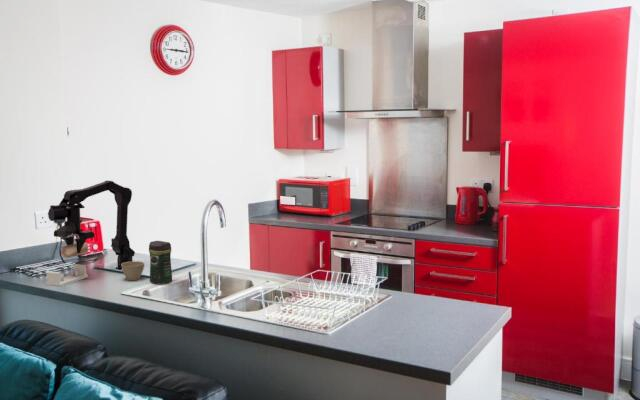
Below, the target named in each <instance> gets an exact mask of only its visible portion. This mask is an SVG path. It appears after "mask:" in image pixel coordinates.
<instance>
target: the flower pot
mask: <svg viewBox="0 0 640 400" xmlns="http://www.w3.org/2000/svg"><path fill="white" fill-rule="evenodd" d="M121 267H122V269H121V271H122V273H123V275H124V277H125V278H126V280H128V281H137V280H139V279H140V278H141V277H142V276H141V275H142V274H143V272H144V268H145V262H143V261H137V260H136V261H135V260H134V261H133V262H125V263H122V264H121Z"/></svg>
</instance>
